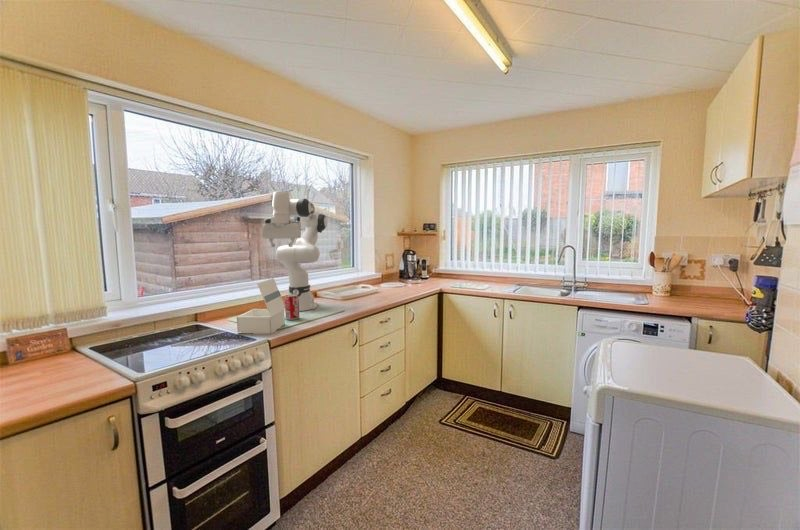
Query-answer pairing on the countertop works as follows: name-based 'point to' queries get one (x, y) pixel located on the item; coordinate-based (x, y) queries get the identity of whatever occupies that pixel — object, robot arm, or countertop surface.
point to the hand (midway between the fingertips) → (281, 247)
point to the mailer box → (260, 321)
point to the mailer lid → (271, 296)
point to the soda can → (292, 306)
